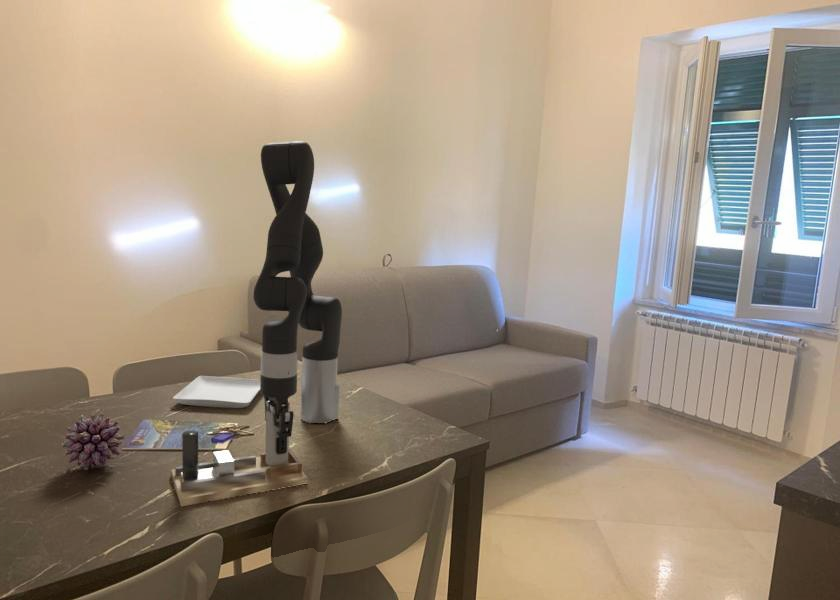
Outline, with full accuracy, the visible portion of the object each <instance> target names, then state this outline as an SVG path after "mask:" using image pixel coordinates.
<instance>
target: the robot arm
mask: <svg viewBox="0 0 840 600" xmlns="http://www.w3.org/2000/svg"><path fill="white" fill-rule="evenodd" d="M260 163H261V169H262V174H263V177H264V180H265V183H266V186H267V189H268V192H269V196H270V198H271V202H272V203H273V204H272V205H273V207H274V211H275V217H274V218H273V220H272V222H271V223H270V226H269V229H268V233H267V243H266V252H265V253H266V254H265V260H264V264H263V266H262V269H261V272H260V274H259V276H258V279H257V280H256V283H255V286H254V289H253V301H254V304H255V305H256V307H257V308H258V309H259V310H262V311H268V312H269V311H270V312H272V311H273V312H288V314H287V316H286V317H285V318H282V319H279V320H278V319H277V320H272V321H268V322H266V323H264V325H263V327H262V334H261V335H262V336H261V338H262V341H261V342H262V343H261V345H262V346H261V357H260V358H261V359H260V379H259V380H260V391H259V392H260V394H261V395H262V396H263V401H264V416H265V417H264V420H265V421H266V412H267V409H268V410H269V409H270V412H271V413H272V417H273V419H272V424H273V426H274V427H275V433H276V434H275V436H276V453H277V454H285V453H286V452H287V437H289V438H290V437H292V432H293V423H294V411H293V410H292V411H291V404H290V402H289V398H290V397H292V396H294V395H296V393H297V391H298V353H297V352H298V351H297V348H298V347H297V346H298V345H297V343H298V329H299V326H300V327H301V328H302V329H304V330H307V331H314V332H315V331H316V332H322V335H321V339H318V340H315V341H312V342H311V341H310V342H307V343H306V344H304V345H303V347H302V357H301V358H302V359H301V360H302V362H301V363H302V364H301V391H300V393H301V398H300V399H301V401H300V403H301V404H300V420H301V419H302V420H303V422H304V421H305V423H307V422H308V423H307V424H311V423H325V422H329V421H332V420H333V419H336V418H338V419H339V405H340V404H339V403H340V385H339V384H338V363H339V362H338V356H339V348H340V341H341V340H340V339H341V328H342V327H341V326H342V315H343V310H342V308H343V307H342V304H341V301H340V299H339V298H337V297H335V296H324V295H315V294H314V293H313V290H312V280H313V278H314V276H315V274H316V272H317V270H318V268H319V267H320V265H321V263H322V261H323V257H324V247H323V243H322V238H321V233H320V229H319V227H318V225H317V224H316V223H315V221H314V219H312V218H311V217H310V216H309V215H308V213H306V211H307V208H308V205H309V200H310V195H311V190H312V185H313V182H314V181H313V180H314V174H315V158H314V152H313V149H312V146H311V145H310V144H309V143H308V142H306V141H285V142H284V141H283V142H282V141H281V142H270V143H266V144H264V145H263V146H262V148H261V150H260ZM287 185H294V186H293V189H292V191H291V194H290V191H289V189H288V187H287ZM285 272H286V273H287V272H289V276H278V275H280V274H281V273H285ZM276 418H277V419H280V421H279V422H277V421H276ZM302 420H301V421H302ZM332 422H333V421H332ZM325 424H326V423H325ZM283 429H285V431H283Z"/></svg>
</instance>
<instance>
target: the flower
mask: <svg viewBox="0 0 840 600" xmlns="http://www.w3.org/2000/svg"><path fill="white" fill-rule="evenodd" d="M104 416H105V414H104V412H100V413H99V415H97V417H96V415H95V413H92V414H91V415H90V417H89V418H87V417H85V416H84V415H83V414H81V415H79V416H78V419H79V420H76V421H75V424H74V425H73V427H70V426H67V427H66V428H65V430H67V432H68V433H65V436H64V437H65V439H66V441H65V442H62V443H60V445H61V448H67V450H66V451H65V455H66V456H68V455H70V457H69V458H68V459H67V461H68V463H72V462H75V461H77V462H76V465H78V466H80V465H82V464H83V466H84V467H83V470H85V471H88V470H89V467H90V466H91V465H93V468H97V467H98V464H100V465H101V466H102V467H103V468H105V467H107V466H108V464H107V460H108V461H109V460H113V459H115V456H114V455H117V456H120V454H121V452H120V451H119V450H118V449H117V448H119V447H120V446H121V445H122V444H123V443H122V441H121V440H125V435H121V434H118V432H119V431H121V429H122V428H121V426H120V425H119V426H117V425H118V424H119V423H120V422H119V420H115V421H113V422H110V419H111V417H110V416H107V417H106V418H105V417H104Z"/></svg>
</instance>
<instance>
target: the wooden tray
mask: <svg viewBox="0 0 840 600" xmlns="http://www.w3.org/2000/svg"><path fill="white" fill-rule="evenodd" d="M265 457H266V452H260V456H256V455H249V456H241V457H235V458H233V459H234V474H232V475H226V476H219V477H213V478H207V479H200V480H194V481H188V482H183V481H182V478H181V472H182V465H180V466H175V468H172V469H170V477H171V481H172V484H173V487H174V490H175V493H176V495H177V499H178V502H179V504H180V507H185V506H191V505H198V504H202V503H203V504H204V503H208V501H210V502H214V501H220V499H221V500H226V499H225V498H227V499H231V498H230V497H233V498H236V497H235V496H238V497H241V496H240V495H244V496H247V495H246V494H250V495H252V494H251V493H256V494H258V493H257V492H261V493H264V492H263V491H267V492H270V491H269V490H272V489H273V491H275V490H274V489H278V488H282V487H288V486H293V485H297V484H302V483H309V478H308V475H306V473H305V472H304V471H303V463H302V462H301V460H300V459H299V458H298V457H297V456H296V454H295V453H294V452H293V451H292V449H291V448H289V451H288V462H287V464H285V465H278V466H272V467H271V466H269V465H267V463H266V462H265ZM212 467H213V461H207V462H200V463H199V462H198V470H199V469H206V468H212Z"/></svg>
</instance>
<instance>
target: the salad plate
mask: <svg viewBox="0 0 840 600" xmlns="http://www.w3.org/2000/svg"><path fill="white" fill-rule="evenodd" d="M259 392H260V379H255V378H254V379H252V378H243V377H228V376H214V375H213V376H210V375H209V376H208V375H199V376H198V377H196V378H194V380H192V381H191V382H190V383H188V384H187V385H186V386H185V387H184V388H183V389H181V390H180V391H179V392H177V393H176V394H175V395H174V396H172V400H174V402H176V403H178V404H181V405H186V406H194V407H209V408H226V409H227V408H228V409H241V408H242V409H243V408H247V407H248V406H249V405H250V404H251V403H252V401H253V400H254V398H255V397H256V396H257V394H258V393H259Z"/></svg>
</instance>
